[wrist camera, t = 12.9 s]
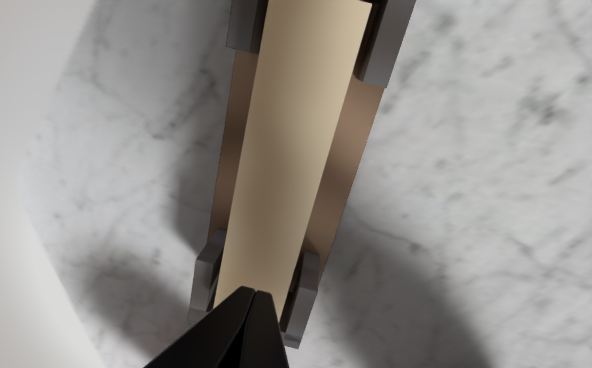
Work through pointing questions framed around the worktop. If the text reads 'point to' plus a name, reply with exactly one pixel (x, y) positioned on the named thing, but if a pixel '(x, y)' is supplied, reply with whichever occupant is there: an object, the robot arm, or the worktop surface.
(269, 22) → the beige wooden bar
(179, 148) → the worktop surface
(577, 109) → the worktop surface
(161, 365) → the robot arm
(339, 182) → the frame
